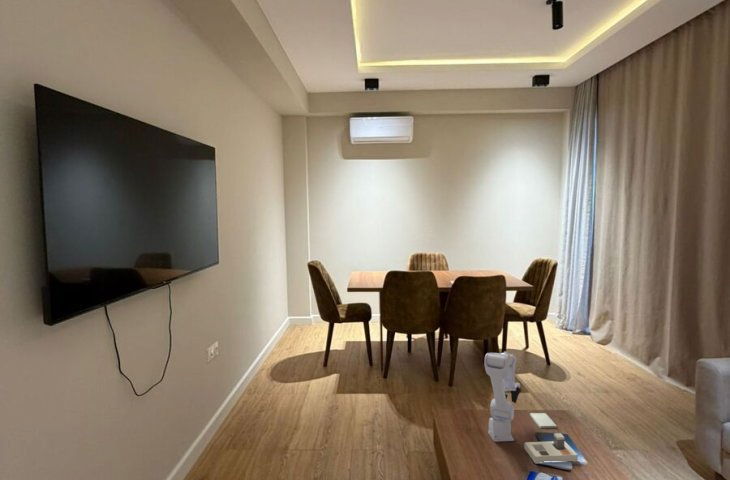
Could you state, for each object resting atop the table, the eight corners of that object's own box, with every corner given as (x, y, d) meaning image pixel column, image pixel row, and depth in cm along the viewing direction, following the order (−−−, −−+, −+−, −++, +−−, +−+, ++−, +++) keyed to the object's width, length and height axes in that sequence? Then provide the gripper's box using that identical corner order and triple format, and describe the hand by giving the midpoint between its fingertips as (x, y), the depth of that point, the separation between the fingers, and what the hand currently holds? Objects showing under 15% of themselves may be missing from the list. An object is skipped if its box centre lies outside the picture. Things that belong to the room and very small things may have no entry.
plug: (557, 455, 162) (557, 437, 162) (553, 451, 165) (553, 433, 165) (564, 455, 162) (564, 437, 162) (560, 450, 165) (560, 433, 165)
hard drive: (557, 426, 183) (545, 412, 195) (540, 426, 183) (529, 412, 195) (557, 429, 183) (545, 415, 195) (540, 429, 183) (529, 416, 196)
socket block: (535, 463, 157) (535, 455, 157) (524, 448, 167) (524, 441, 167) (577, 461, 157) (577, 454, 157) (564, 447, 167) (564, 440, 167)
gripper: (504, 383, 181) (504, 411, 182) (525, 377, 188) (525, 403, 188) (493, 378, 187) (493, 405, 188) (513, 372, 194) (513, 398, 195)
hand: (508, 404), depth 188 cm, fingers open, 7 cm apart
